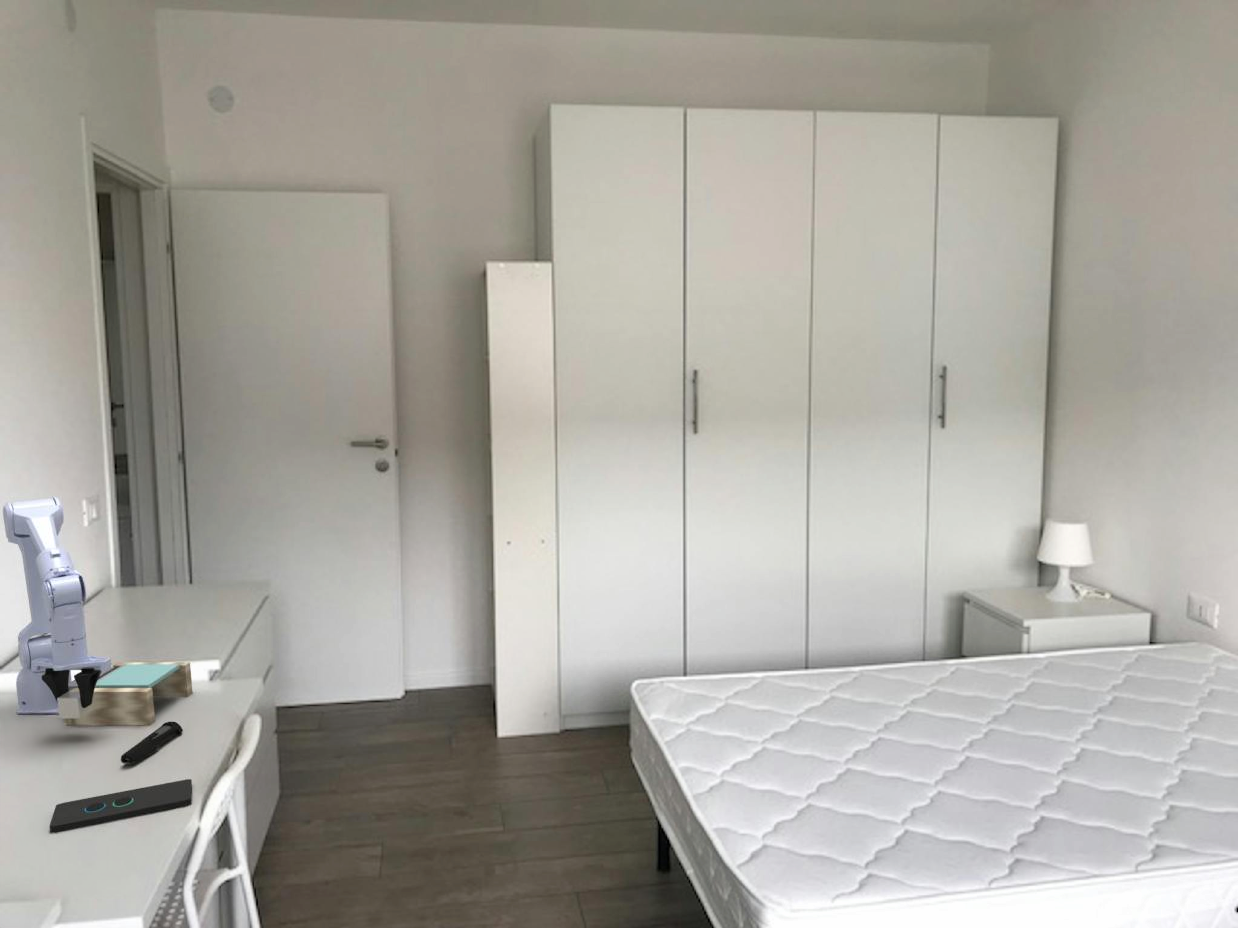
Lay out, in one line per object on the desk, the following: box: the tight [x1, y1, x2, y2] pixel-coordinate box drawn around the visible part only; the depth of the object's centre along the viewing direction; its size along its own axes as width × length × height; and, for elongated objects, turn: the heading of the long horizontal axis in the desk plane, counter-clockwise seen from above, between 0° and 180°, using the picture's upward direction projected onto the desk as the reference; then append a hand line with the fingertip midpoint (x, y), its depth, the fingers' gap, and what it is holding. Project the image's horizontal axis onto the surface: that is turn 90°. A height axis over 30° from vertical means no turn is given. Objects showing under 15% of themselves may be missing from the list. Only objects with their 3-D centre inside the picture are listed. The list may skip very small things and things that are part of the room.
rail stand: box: [65, 661, 193, 726], centre depth 190 cm, size 17×17×7 cm
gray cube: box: [57, 690, 92, 719], centre depth 176 cm, size 4×4×4 cm
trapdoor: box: [68, 664, 180, 691], centre depth 190 cm, size 18×12×4 cm, turn 88°
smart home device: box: [49, 778, 193, 834], centre depth 149 cm, size 8×2×20 cm
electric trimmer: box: [120, 721, 184, 764], centre depth 170 cm, size 4×16×3 cm, turn 173°
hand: (75, 705), depth 176 cm, fingers closed on gray cube, 4 cm apart
